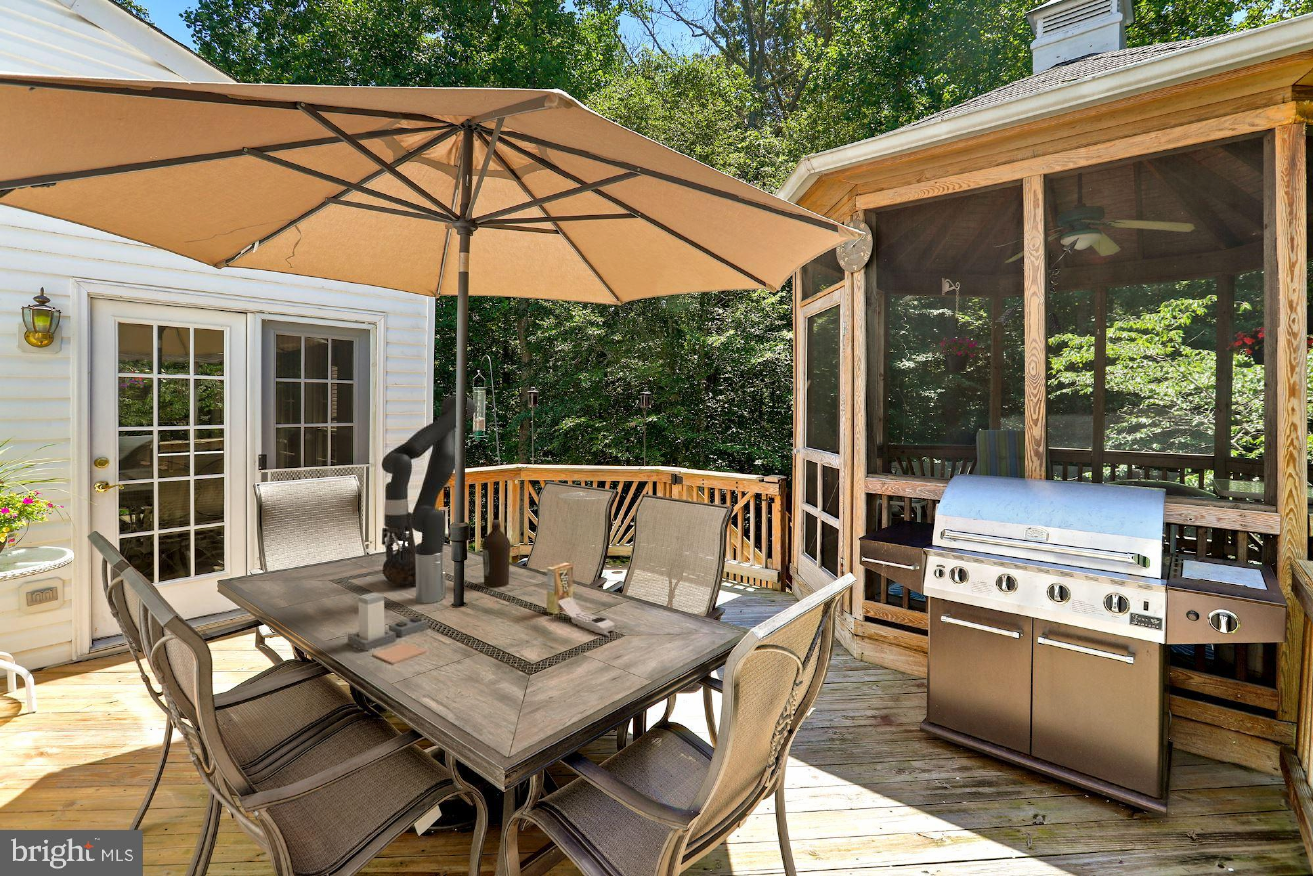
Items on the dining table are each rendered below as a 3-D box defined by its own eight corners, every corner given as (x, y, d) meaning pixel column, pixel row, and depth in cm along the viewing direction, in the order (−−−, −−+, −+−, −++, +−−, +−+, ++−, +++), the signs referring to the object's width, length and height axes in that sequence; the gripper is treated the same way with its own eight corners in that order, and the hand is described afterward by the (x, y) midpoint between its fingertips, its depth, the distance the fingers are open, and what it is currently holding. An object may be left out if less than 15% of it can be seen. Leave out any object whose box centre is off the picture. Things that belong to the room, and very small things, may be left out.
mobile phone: (570, 596, 210) (620, 614, 192) (570, 613, 210) (620, 632, 193) (556, 600, 206) (605, 619, 188) (556, 618, 206) (605, 638, 188)
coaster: (405, 644, 182) (405, 642, 182) (425, 652, 176) (425, 650, 176) (372, 655, 174) (372, 653, 174) (393, 664, 168) (393, 662, 168)
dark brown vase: (441, 578, 249) (440, 509, 247) (414, 592, 232) (413, 517, 230) (402, 575, 253) (401, 507, 251) (372, 588, 236) (371, 515, 234)
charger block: (375, 638, 186) (374, 592, 186) (384, 642, 184) (383, 595, 183) (359, 643, 182) (358, 596, 182) (368, 647, 180) (367, 599, 179)
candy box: (564, 605, 218) (564, 562, 217) (573, 607, 216) (573, 564, 215) (546, 612, 211) (546, 567, 210) (555, 614, 208) (555, 569, 208)
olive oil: (506, 578, 250) (506, 517, 248) (513, 585, 240) (513, 521, 239) (479, 582, 245) (479, 519, 243) (485, 589, 235) (485, 524, 234)
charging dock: (412, 623, 199) (412, 614, 199) (430, 629, 194) (430, 620, 194) (347, 643, 182) (347, 633, 182) (365, 651, 176) (365, 641, 176)
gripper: (418, 513, 209) (418, 561, 209) (395, 509, 218) (395, 555, 218) (397, 515, 203) (397, 564, 203) (374, 511, 212) (374, 558, 212)
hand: (396, 559), depth 211 cm, fingers open, 8 cm apart
